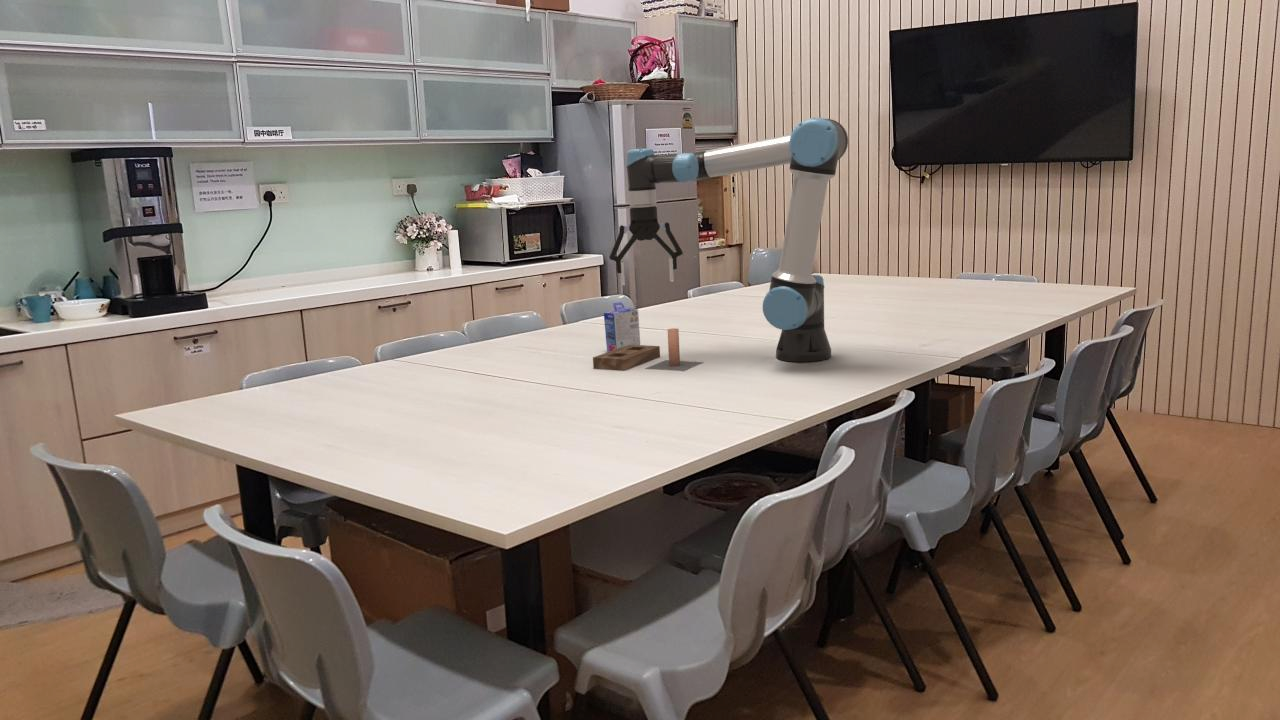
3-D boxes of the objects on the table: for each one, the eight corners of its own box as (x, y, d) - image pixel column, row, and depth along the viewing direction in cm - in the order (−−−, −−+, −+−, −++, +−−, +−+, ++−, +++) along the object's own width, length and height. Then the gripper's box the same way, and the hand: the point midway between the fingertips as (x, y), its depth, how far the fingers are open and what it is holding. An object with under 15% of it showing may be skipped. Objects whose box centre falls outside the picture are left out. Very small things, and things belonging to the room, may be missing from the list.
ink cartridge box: (629, 346, 306) (627, 300, 303) (641, 348, 302) (639, 301, 299) (605, 352, 300) (602, 304, 297) (617, 353, 296) (614, 305, 293)
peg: (682, 364, 273) (680, 328, 271) (676, 366, 270) (675, 330, 268) (672, 364, 274) (670, 328, 272) (667, 366, 272) (665, 330, 270)
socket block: (660, 358, 286) (659, 346, 285) (624, 372, 269) (624, 359, 268) (630, 356, 291) (629, 344, 290) (593, 369, 274) (592, 357, 273)
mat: (704, 363, 274) (703, 362, 274) (684, 372, 264) (684, 371, 264) (665, 361, 280) (665, 360, 280) (644, 369, 270) (644, 368, 270)
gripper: (686, 202, 277) (690, 278, 281) (597, 208, 275) (602, 284, 279) (689, 203, 270) (693, 281, 274) (598, 209, 268) (603, 287, 272)
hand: (647, 283), depth 277 cm, fingers open, 13 cm apart
